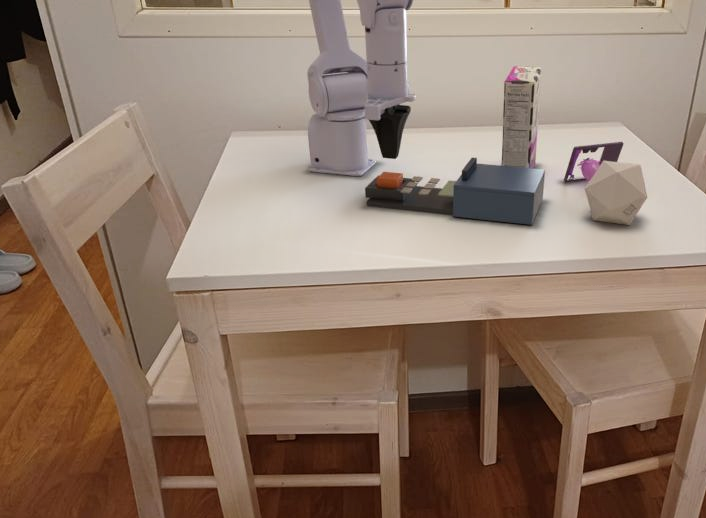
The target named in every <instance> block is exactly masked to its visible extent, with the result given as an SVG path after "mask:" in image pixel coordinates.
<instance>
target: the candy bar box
mask: <svg viewBox="0 0 706 518" xmlns="http://www.w3.org/2000/svg"><path fill="white" fill-rule="evenodd" d="M541 75H542V67H540V66H527V65H525V66H522V65H517V66H513V67H512V68H511V70H510V71H509V73H508V75H507V76H506V78H505V80H504V81H503V84H504V85H503V86H504V87H503V109H502V110H503V113H502V114H503V116H502V142H501V144H502V146H501V166H511V167H522V168H533V169H535V167H536V159H537V141H538V126H539V125H538V124H539V112H540V111H539V110H540V95H541V93H540V92H541V78H542V77H541Z"/></svg>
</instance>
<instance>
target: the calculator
mask: <svg viewBox="0 0 706 518" xmlns="http://www.w3.org/2000/svg"><path fill="white" fill-rule="evenodd" d="M380 175H381V174H379V175H377V176H376V177H375V178H373V180H372V181H370V183H368V184H367V185H366V186H365V187H364V191H365V192H364V195H365V196H364V197H365V198H366V199H367V200H366V207H368V208H379V209H388V210H397V211H408V212H417V213H427V214H436V215H444V216H453V197H448V196H438V194H439V192H440V191H441V190H442V188H443V187H442V188H441V187H434V188H433V189H427V190H431V192H430V193H429V194H428V195H420V194H419V192H420V191H421V190H422V189H423V187H424V186H420V185H416V187H415V188H413V190H412V191H411V192H410V193H401V190H402V189H403V188H404V187H406V185H407V184H408V183H409V182H412V181H411V179H412V177H411V178H409V177H403V184H402V185H401V186H400V187H399V188H388V187H378V186H377V178H378V177H379V176H380ZM407 188H412V187H407Z"/></svg>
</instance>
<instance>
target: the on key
mask: <svg viewBox="0 0 706 518" xmlns="http://www.w3.org/2000/svg"><path fill="white" fill-rule="evenodd" d="M379 175H380V176H379V177H378V178H377V186H378V187H388V188H399V187H400V186H401V185H402V184H403V178H404V173H401V172H390V171H383V172H382V173H380V174H379Z"/></svg>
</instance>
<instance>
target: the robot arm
mask: <svg viewBox="0 0 706 518" xmlns="http://www.w3.org/2000/svg"><path fill="white" fill-rule="evenodd" d="M356 2H357V5H358V9H359V18H360V22H361V26H363V27H364V32H365V33H364V36H365V57H366V59H364V58H363V57H362V56H360V55H359V54H358V53H356V52H354V51H353V50H352V49H351V45H350V41H349V36H348V31H347V26H346V20H345V17H344V12H343V11H344V10H343V6H342V2H341V0H308V4H309V7H310V8H309V9H310V13H311V17H312V21H313V26H314V32H315V36H316V41H317V46H318V50H319V55H318V56H317V57H316V59H314V60H313V61H312V63H311V64H310V65H309V67H308V69H307V74H306V77H307V82H308V83H307V84H308V98H309V102H310V106H311V108H312V110H313V111H314V114H312V115H311V116H310V118H309V121H308V125H307V139H308V140H307V141H308V150H309V163H310V168H309V170H308V171H309V172H310V173H322V174H330V175H342V176H350V177H351V176H352V177H362V176H363V175H365V174H366V173H367V172H368V171H369V170H370V169H372V167H374V165H375V164H377V160H376V159H369V154H368V135H367V134H368V133H367V121H369V123H370V125H371V127H372V128H373V131H374V133H375V136H376V139H377V143H378V147H379V150H380V154H381V157H382V158H383V159H388V160H389V159H391V160H396V159H397V158H398V157H399V154H400V150H401V144H402V138H403V133H404V129H405V126H406V123H407V120H408V118H409V116H410V113H411V110H412V109H411V105H405V104H404V103H412V102H413V103H414V101H415V100H417V95H416V93H411V91H410V83H409V82H408V39H407V36H408V35H407V34H408V33H407V11H409V10H410V9H411V7H412V5H413V2H414V0H356Z"/></svg>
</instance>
